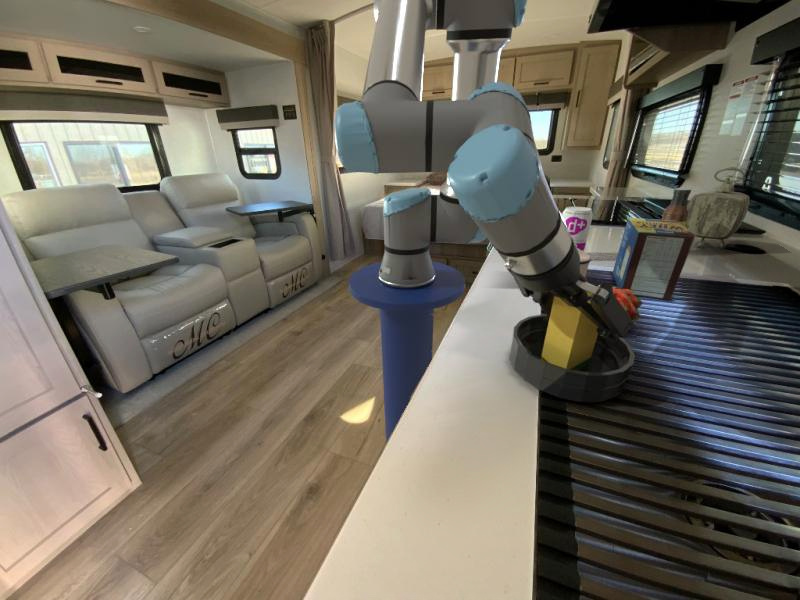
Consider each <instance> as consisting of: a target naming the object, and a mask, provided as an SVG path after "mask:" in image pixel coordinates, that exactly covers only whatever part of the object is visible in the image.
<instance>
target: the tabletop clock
mask: <svg viewBox="0 0 800 600" xmlns="http://www.w3.org/2000/svg"><path fill="white" fill-rule="evenodd" d="M726 171H734V172H738V173H740V174H741V175H742V176H741V178H738V179H731V178H730V177H725V179H721V178H718V177H717V175H718V174H719V173H721V172H726ZM713 177H714V180H716V181H718V182H719V184H717V185H715V186H714V187H713V189H711V190H709V189H708V190H704V191H703V190H702V191H699V192H697V193H694V195H693V196H692V197H691V198H690V199H689V201H688V202H687V204H686V205H687V210H688V215H687V220H686V223H685V228H686V229H687V230H689V231H690V232H691V233H693V234H694V235H695V238H700V242H698V243H697V244H696V247H697V248H700V249H701V248H703V247H704V240H705V239H708V240H709V239H710V240H719V241H720V243H721V244H720V248H721V249H726V248H727V246H728V244H727V243H726V242H725V240H727V239H730V238H731V237H732V236H733V235H734V234H735V233H736V232H737V231H738V230H739V228H740V227H741V225H742V223H743V222H744V219H746V215H747V213H748V210H749V207H750V203H751V200H750V195H747V194H745V193H743V192H738V191H737V192H736V191H735V186H734V185H733V184H731V183H736V182H737V183H738V182H740V181H742V180H743V179H744V178H745V172H744V170H742V169H740V168H736V167H725V168H721V169H719V170H718V171H716V172H715V173H714V175H713Z"/></svg>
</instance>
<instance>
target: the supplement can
mask: <svg viewBox="0 0 800 600" xmlns="http://www.w3.org/2000/svg"><path fill="white" fill-rule="evenodd" d="M561 215H562V217H563V219H564V221H565V223H566V225H567V227H568V229H569V232H570V235H571V237H572V239H573V241H574V244H576V245H577V248H578V249H580V250H581V251H583V252H585V249H586V245H587V240H588V238H589V232H590V229H591V225H592V221H593V217H594V215H593V211H592V208H589V207H585V206H566V207H565V209H564V210H563V211H562V212H561Z"/></svg>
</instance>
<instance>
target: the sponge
mask: <svg viewBox="0 0 800 600" xmlns="http://www.w3.org/2000/svg"><path fill="white" fill-rule="evenodd" d="M571 298H572V297H571ZM597 328H598V327H597V326H596V325H595V324H594V323H593V322H592V321H591V320H590V319H588V318H587V317H586V316H585V315H584V314H583V313H582V312H581V311H579V310H578V309H577V308H576V307H571V306H568V305H567V304H566V303H565V302H564V301H563V300H561V299H560V298H559V297H555V296H554V300H553V305H552V309H551V314H550V319H549V323H548V328H547V333H546V337H545V342H544V347H543V351H542V356H541V359H543V360H545V361H546V362H548V363H551V364H554V365H557V366H560V367H563V368H566V369H571V370H577V371H578V370H580V369H581V368H583V367H585V366H586V365H588V364H589V362H590V359H591V356H592V353H593V349H594V346H595V342H596V339H597V336H598V332H597V331H596V330H597Z"/></svg>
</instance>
